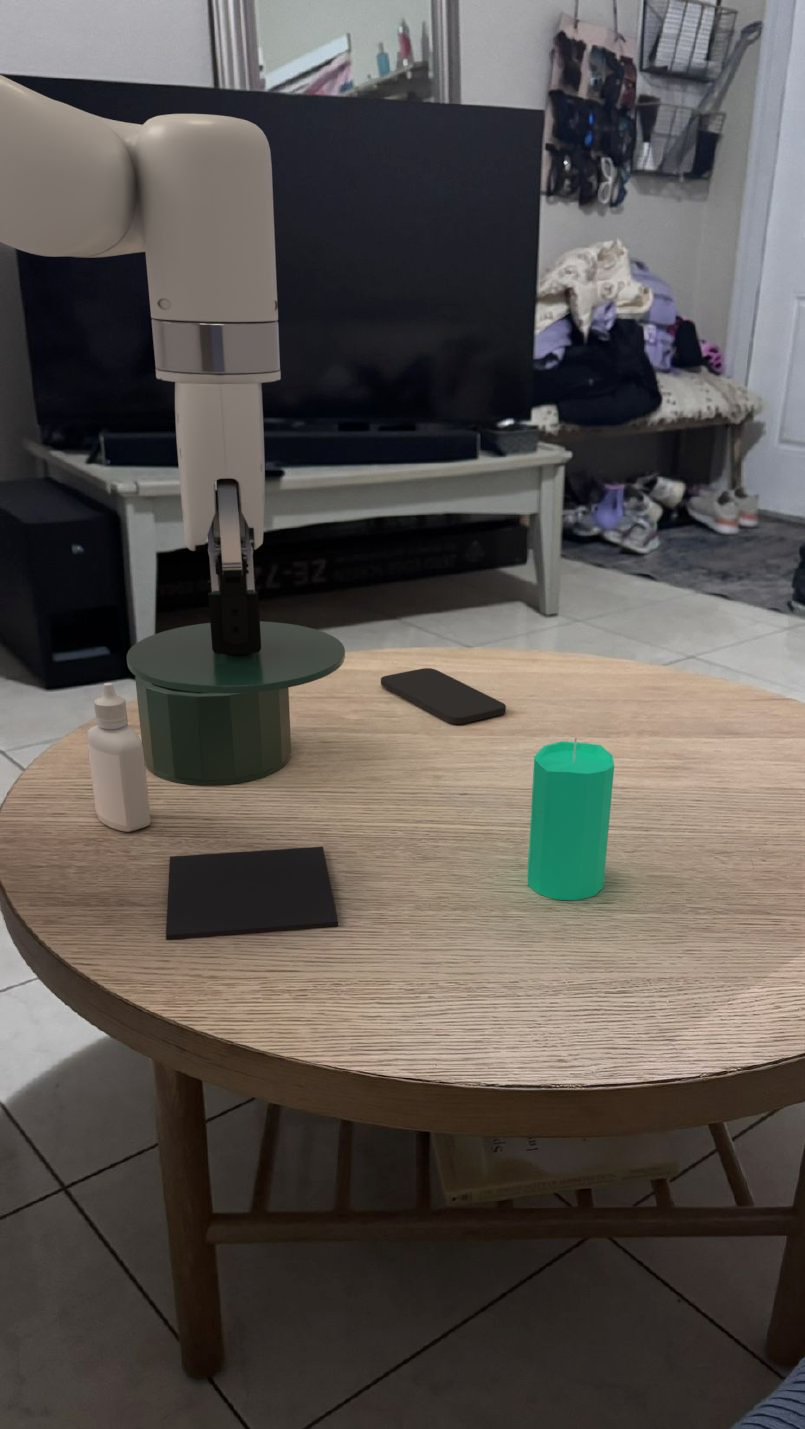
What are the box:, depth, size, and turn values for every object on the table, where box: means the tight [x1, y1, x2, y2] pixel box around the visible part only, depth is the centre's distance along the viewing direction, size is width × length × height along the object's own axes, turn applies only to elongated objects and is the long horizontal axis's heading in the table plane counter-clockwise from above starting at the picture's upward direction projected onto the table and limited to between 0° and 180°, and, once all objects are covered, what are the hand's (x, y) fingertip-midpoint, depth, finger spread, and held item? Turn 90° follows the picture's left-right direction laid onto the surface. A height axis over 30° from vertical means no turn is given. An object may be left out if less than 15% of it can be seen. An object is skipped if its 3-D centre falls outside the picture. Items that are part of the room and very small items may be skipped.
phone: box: [380, 667, 507, 725], centre depth 126 cm, size 7×1×15 cm
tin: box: [134, 675, 292, 786], centre depth 109 cm, size 14×14×8 cm
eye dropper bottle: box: [86, 682, 152, 833], centre depth 95 cm, size 4×6×12 cm
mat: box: [165, 846, 339, 941], centre depth 87 cm, size 12×12×1 cm
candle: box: [526, 736, 615, 901], centre depth 88 cm, size 6×6×12 cm
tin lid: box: [126, 577, 346, 693], centre depth 78 cm, size 15×15×6 cm
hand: (236, 642), depth 79 cm, fingers closed on tin lid, 2 cm apart
